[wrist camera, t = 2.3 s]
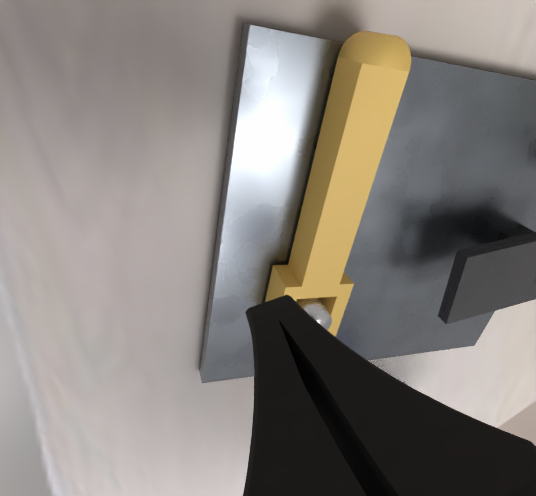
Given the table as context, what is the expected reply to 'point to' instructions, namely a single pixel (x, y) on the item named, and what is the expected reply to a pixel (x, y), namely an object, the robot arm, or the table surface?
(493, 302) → the keeper
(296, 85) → the base
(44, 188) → the table surface
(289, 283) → the lever
